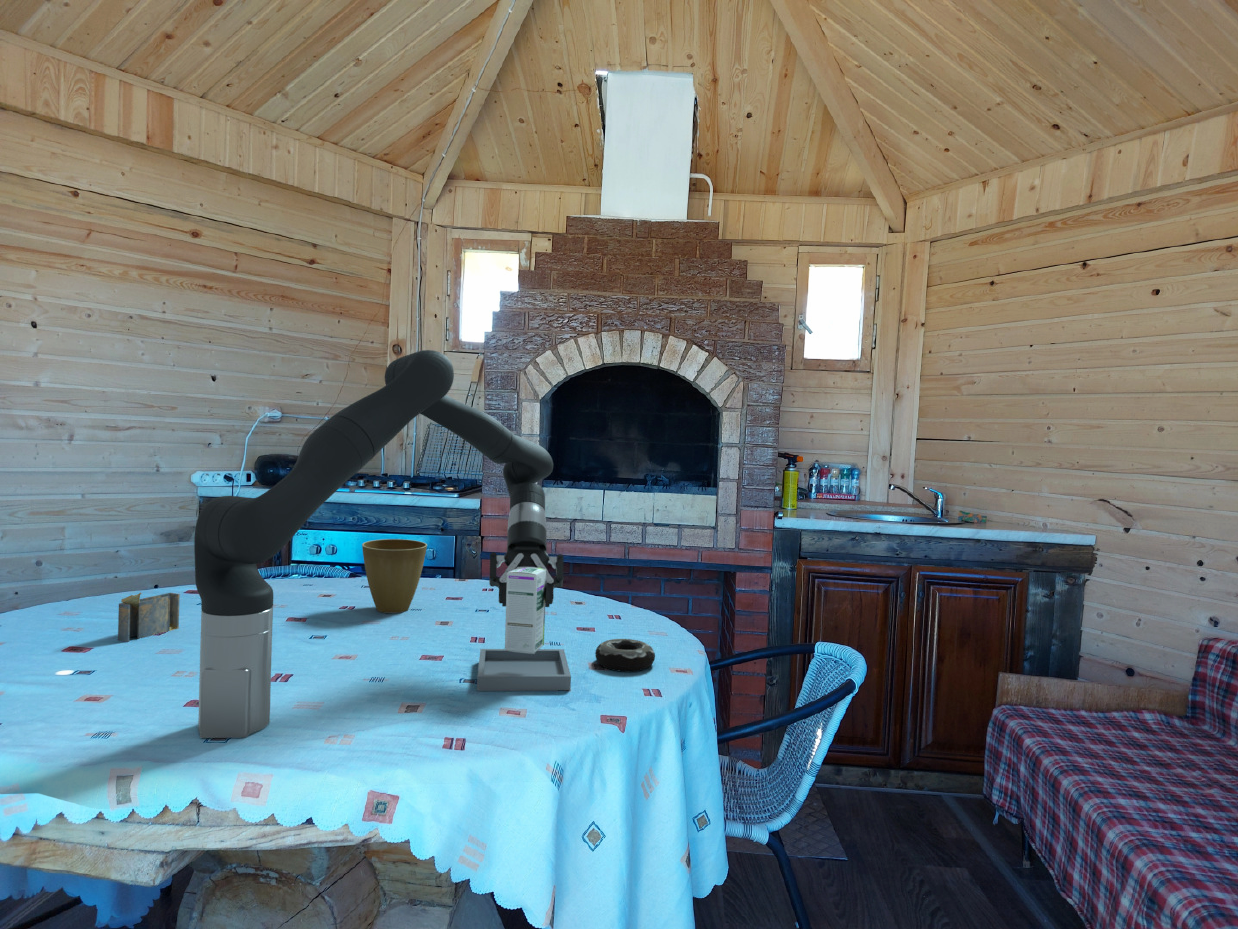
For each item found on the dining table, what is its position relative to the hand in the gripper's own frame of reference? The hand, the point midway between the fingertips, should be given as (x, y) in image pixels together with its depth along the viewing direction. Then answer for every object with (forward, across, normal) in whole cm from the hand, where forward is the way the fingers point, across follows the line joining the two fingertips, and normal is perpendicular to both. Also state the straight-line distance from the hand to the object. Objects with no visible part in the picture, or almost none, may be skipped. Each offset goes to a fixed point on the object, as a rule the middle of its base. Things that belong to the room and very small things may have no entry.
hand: (526, 604), depth 134 cm
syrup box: (+5, 0, +7) cm, 9 cm away
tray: (+9, 0, +10) cm, 13 cm away
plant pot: (-25, -30, +45) cm, 59 cm away
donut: (+4, +20, +16) cm, 26 cm away
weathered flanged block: (-9, -74, +29) cm, 80 cm away
